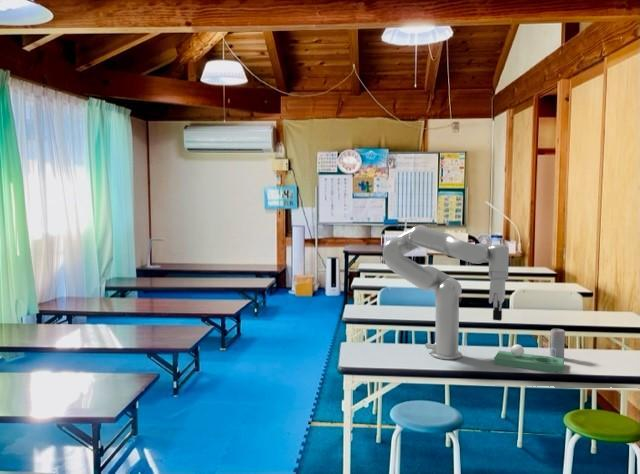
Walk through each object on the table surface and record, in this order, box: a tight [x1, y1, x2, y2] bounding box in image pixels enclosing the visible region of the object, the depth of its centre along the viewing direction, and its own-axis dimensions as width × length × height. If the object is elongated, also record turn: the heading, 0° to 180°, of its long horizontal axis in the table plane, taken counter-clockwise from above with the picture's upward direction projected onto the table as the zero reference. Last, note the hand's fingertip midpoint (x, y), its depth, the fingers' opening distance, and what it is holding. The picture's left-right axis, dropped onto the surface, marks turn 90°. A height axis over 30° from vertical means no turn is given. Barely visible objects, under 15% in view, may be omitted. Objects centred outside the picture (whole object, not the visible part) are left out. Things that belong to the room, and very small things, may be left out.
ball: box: [510, 343, 525, 357], centre depth 222 cm, size 5×5×5 cm
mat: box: [493, 350, 565, 374], centre depth 220 cm, size 25×12×2 cm, turn 63°
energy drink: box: [549, 328, 566, 359], centre depth 228 cm, size 5×5×12 cm
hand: (497, 319), depth 224 cm, fingers closed
